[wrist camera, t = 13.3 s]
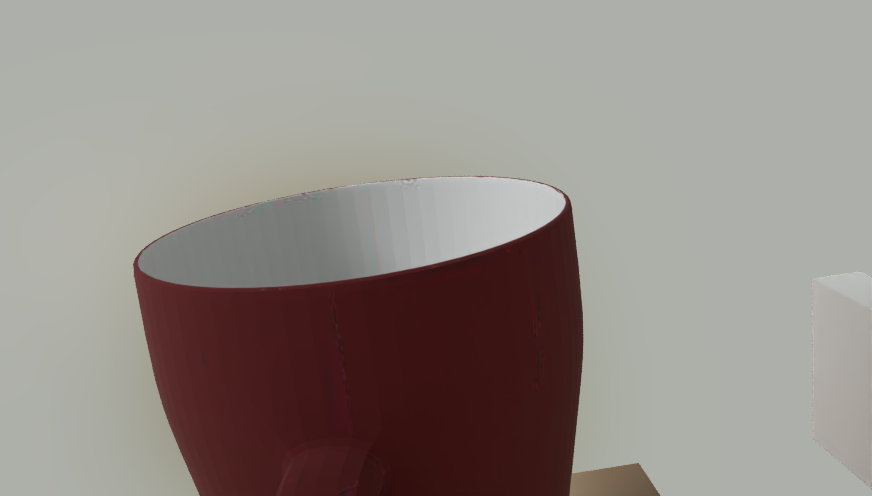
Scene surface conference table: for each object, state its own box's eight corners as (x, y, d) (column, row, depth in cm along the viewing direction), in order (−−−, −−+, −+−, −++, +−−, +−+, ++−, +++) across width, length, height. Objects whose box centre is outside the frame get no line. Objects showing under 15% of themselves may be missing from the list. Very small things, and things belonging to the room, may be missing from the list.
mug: (716, 965, 12) (683, 300, 9) (150, 1044, 12) (-38, 395, 9) (570, 533, 22) (535, 160, 20) (266, 574, 22) (192, 204, 19)
